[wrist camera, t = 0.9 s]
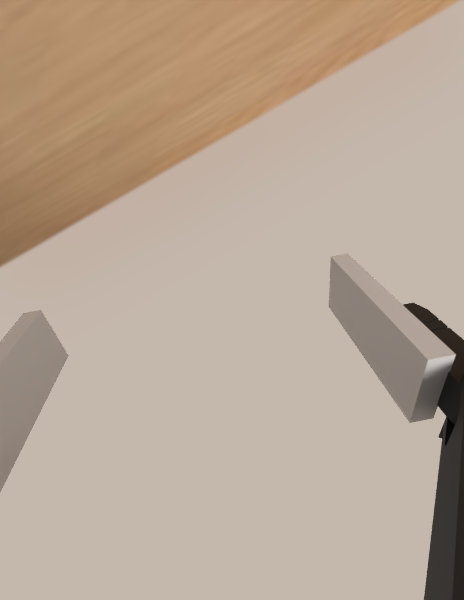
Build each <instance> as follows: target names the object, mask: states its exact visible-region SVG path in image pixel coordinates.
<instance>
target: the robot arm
mask: <svg viewBox="0 0 464 600" xmlns="http://www.w3.org/2000/svg"><path fill="white" fill-rule="evenodd" d="M329 308H330V309H331V310H332V312H333V313H334V315H335V316H336V318H337V319H338V320H339V321H340V323H341V325H342V326H343V328H344V329H345V330H346V332H347V333H348V335H349V336H350V338H351V339H352V340H353V342H354V343H355V345H356V346H357V348H358V349H359V351H360V352H361V353H362V355H363V356H364V358H365V359H366V361H367V362H368V364H369V365H370V366H371V368H372V369H373V371H374V372H375V373H376V375H377V376H378V378H379V379H380V381H381V382H382V384H383V385H384V386H385V388H386V389H387V391H388V392H389V394H390V395H391V397H392V398H393V399H394V401H395V402H396V404H397V405H398V407H399V408H400V409H401V411H402V412H403V414H404V415H405V417H406V418H407V419H408V421H409V422H410V423H411V422H416V421H421V420H426V419H431V418H434V415H435V412H436V409H437V407H438V406H439V407H440V409H441V410H442V411H443V412H444V414H445V415H446V416H447V417H446V419H445V422H444V425H443V427H442V429H441V432H440V434H439V438H442V447H441V455H440V464H439V473H438V482H437V490H436V499H435V508H434V516H433V517H434V518H433V525H432V535H431V543H430V552H429V560H428V570H427V578H426V587H425V596H424V600H464V340H463V339H462V338H461V337H459V336H458V335H457V334H456V333H455V332H453V331H452V330H451V329H450V328H447V326H446V325H445V324H444V323H443V322H442V321H441V320H440V321H439V320H438V318H437V317H436V316H435V315H433V314H432V313H431V312H430V311H429V310H428V309H425V308H423V307H421V306H419V305H417V304H415V303H409V304H404V305H402V304H401V303H400V302H399V301H398V300H397V299H396V298H395V297H394V296H393V295H391V294H390V293H389V292H388V291H387V290H386V289H385V288H384V287H383V286H382V285H381V284H380V283H378V282H377V281H376V280H375V279H374V278H373V277H372V276H371V275H370V274H369V273H368V272H367V271H366V270H364V269H363V268H362V267H361V266H360V265H359V264H358V263H357V262H356V261H355V260H353V258H351V257H350V256H349V255H348V254H344V255H338V256H332V257H331V268H330V293H329ZM67 357H68V354H67V353H66V351H65V349H64V348H63V347H62V344H61V343H60V341H59V339H58V338H57V336H56V334H55V333H54V331H53V330H52V328H51V326H50V325H49V323H48V321H47V320H46V318H45V316H44V315H43V313H42V311H41V310H40V311H34V312H29V313H24V314H23V315H22V316H21V317H20V318H19V320H18V321H17V322H16V323H15V325H14V326H13V327H12V328H11V329H10V331H9V332H8V333H7V334H6V336H5V337H4V338H3V339H2V340H1V342H0V492H1V490H2V488H3V486H4V484H5V482H6V479H7V478H8V476H9V474H10V471H11V469H12V467H13V466H14V464H15V461H16V459H17V457H18V455H19V453H20V451H21V449H22V447H23V445H24V443H25V441H26V439H27V437H28V435H29V433H30V431H31V429H32V427H33V425H34V423H35V421H36V419H37V417H38V415H39V413H40V411H41V409H42V407H43V405H44V403H45V401H46V399H47V397H48V395H49V393H50V391H51V389H52V387H53V385H54V383H55V381H56V379H57V377H58V375H59V373H60V371H61V369H62V367H63V365H64V363H65V361H66V359H67Z"/></svg>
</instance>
